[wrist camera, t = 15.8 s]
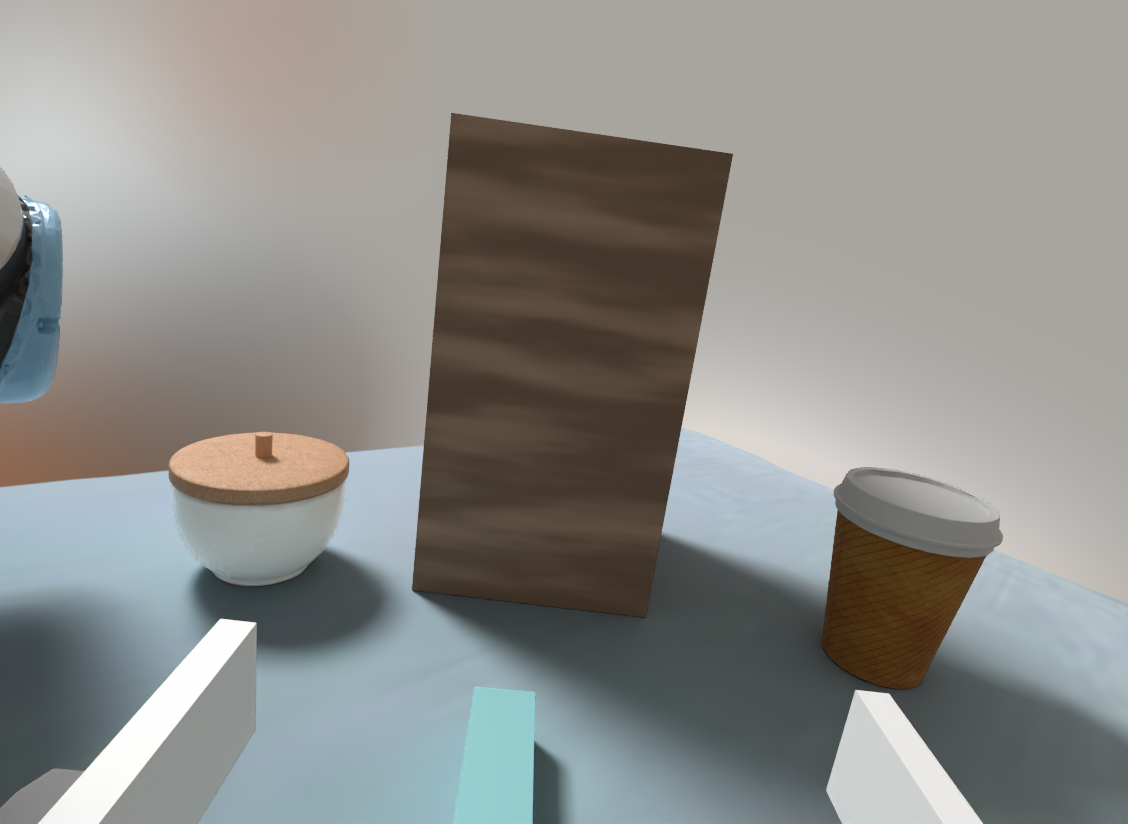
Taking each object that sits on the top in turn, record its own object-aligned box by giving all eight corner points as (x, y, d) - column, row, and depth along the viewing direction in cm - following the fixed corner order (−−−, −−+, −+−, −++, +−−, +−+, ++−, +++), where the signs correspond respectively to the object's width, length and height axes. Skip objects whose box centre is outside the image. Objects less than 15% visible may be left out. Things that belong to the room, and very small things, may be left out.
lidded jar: (340, 603, 41) (347, 465, 39) (148, 610, 38) (142, 460, 36) (347, 528, 51) (352, 414, 49) (194, 528, 48) (192, 406, 46)
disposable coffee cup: (942, 647, 46) (993, 490, 43) (960, 731, 37) (1025, 542, 34) (802, 602, 49) (840, 454, 46) (790, 669, 41) (836, 493, 38)
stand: (645, 617, 44) (732, 153, 37) (412, 590, 44) (451, 113, 36) (623, 519, 60) (682, 178, 52) (451, 498, 59) (484, 150, 52)
